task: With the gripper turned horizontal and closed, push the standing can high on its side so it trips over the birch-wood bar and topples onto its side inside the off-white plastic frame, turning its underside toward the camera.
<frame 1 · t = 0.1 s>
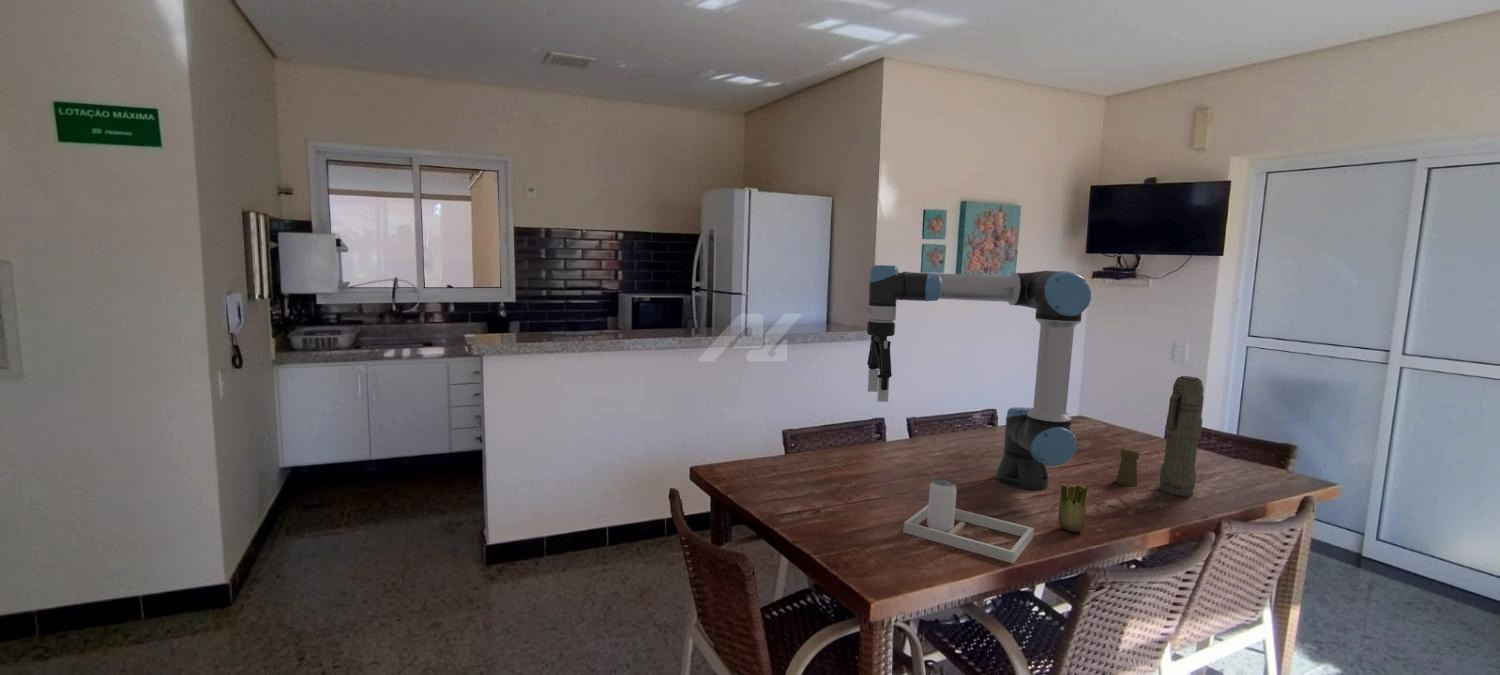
hand: (877, 396, 189), 28 cm above the table, tool pointing down, fingers open, 13 cm apart
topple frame: (968, 535, 165), on the table
thermos: (1175, 492, 203), on the table
olive tapered pillar: (1126, 483, 210), on the table
can: (940, 528, 169), resting in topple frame
fennel bulb: (1070, 531, 170), on the table
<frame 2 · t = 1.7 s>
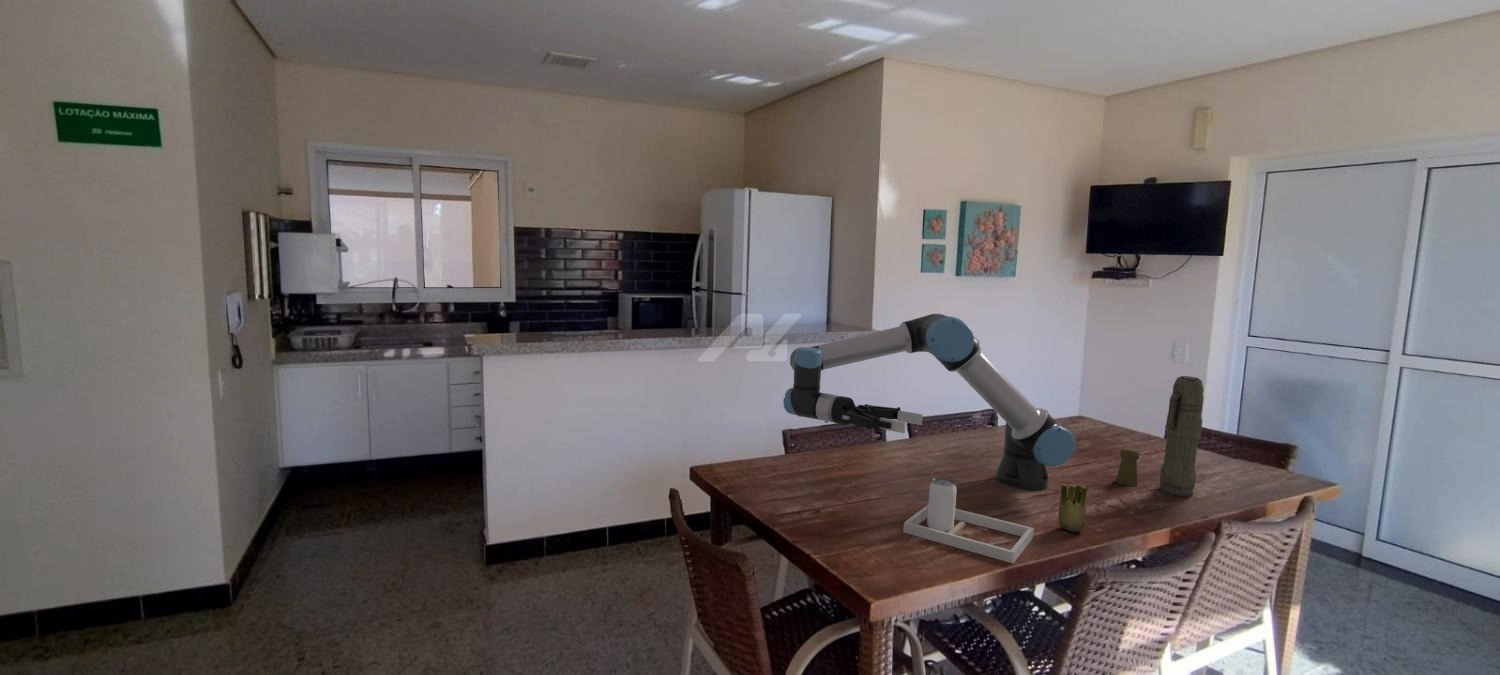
hand: (913, 423, 171), 25 cm above the table, tool horizontal, fingers open, 10 cm apart
nothing on the table moved.
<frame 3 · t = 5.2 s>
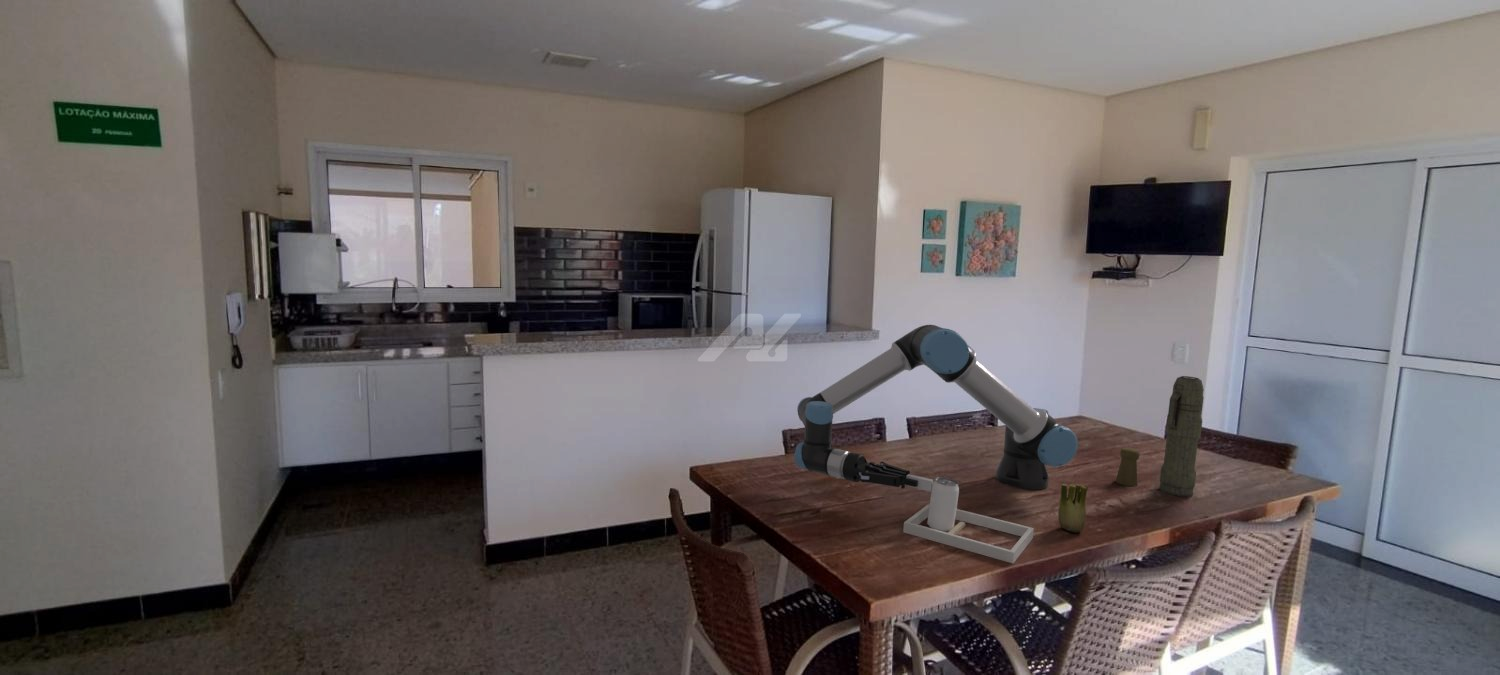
hand: (931, 485, 169), 10 cm above the table, tool horizontal, fingers closed
can: (940, 527, 169), resting in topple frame, touching gripper
everything else where it was.
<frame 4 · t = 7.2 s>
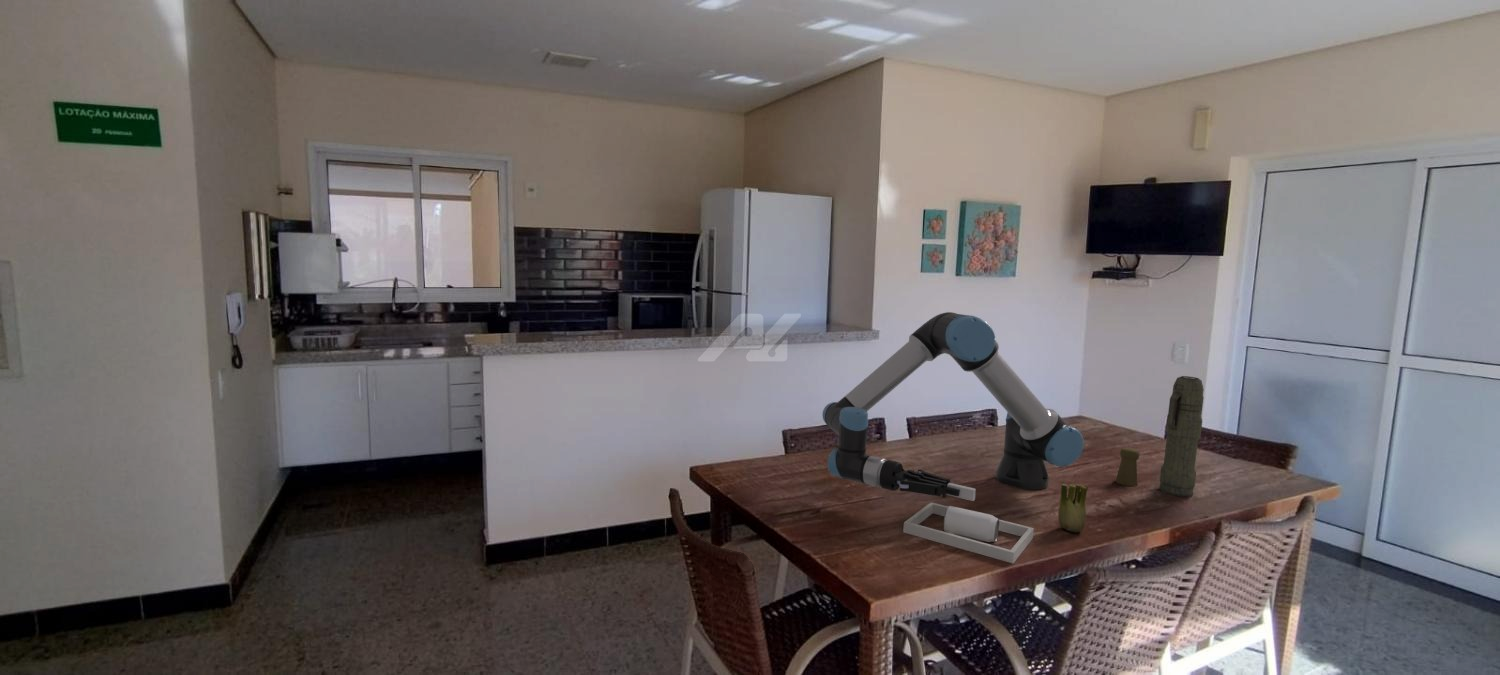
hand: (974, 494, 163), 10 cm above the table, tool horizontal, fingers closed
can: (945, 518, 167), point 3 cm above the table, touching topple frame
everything else where it was.
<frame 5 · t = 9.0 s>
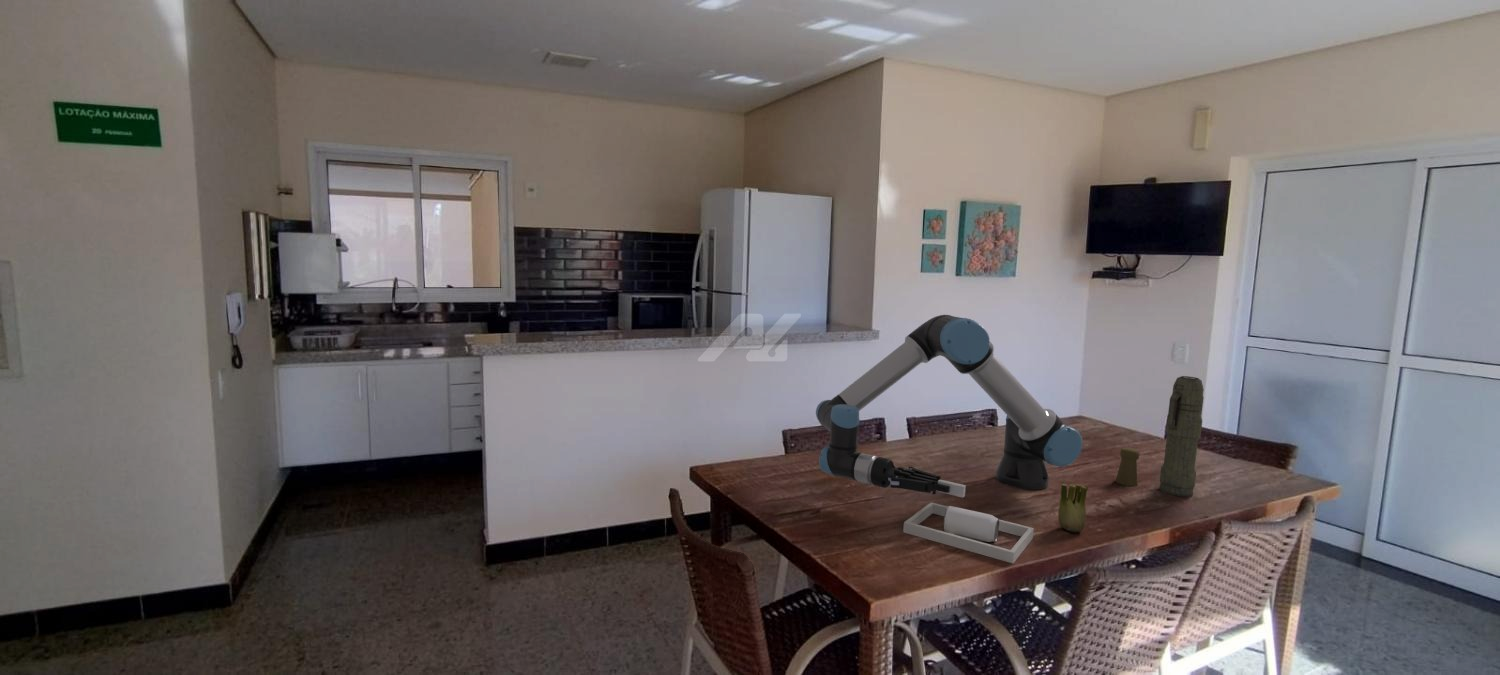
hand: (964, 491, 164), 11 cm above the table, tool horizontal, fingers closed
nothing on the table moved.
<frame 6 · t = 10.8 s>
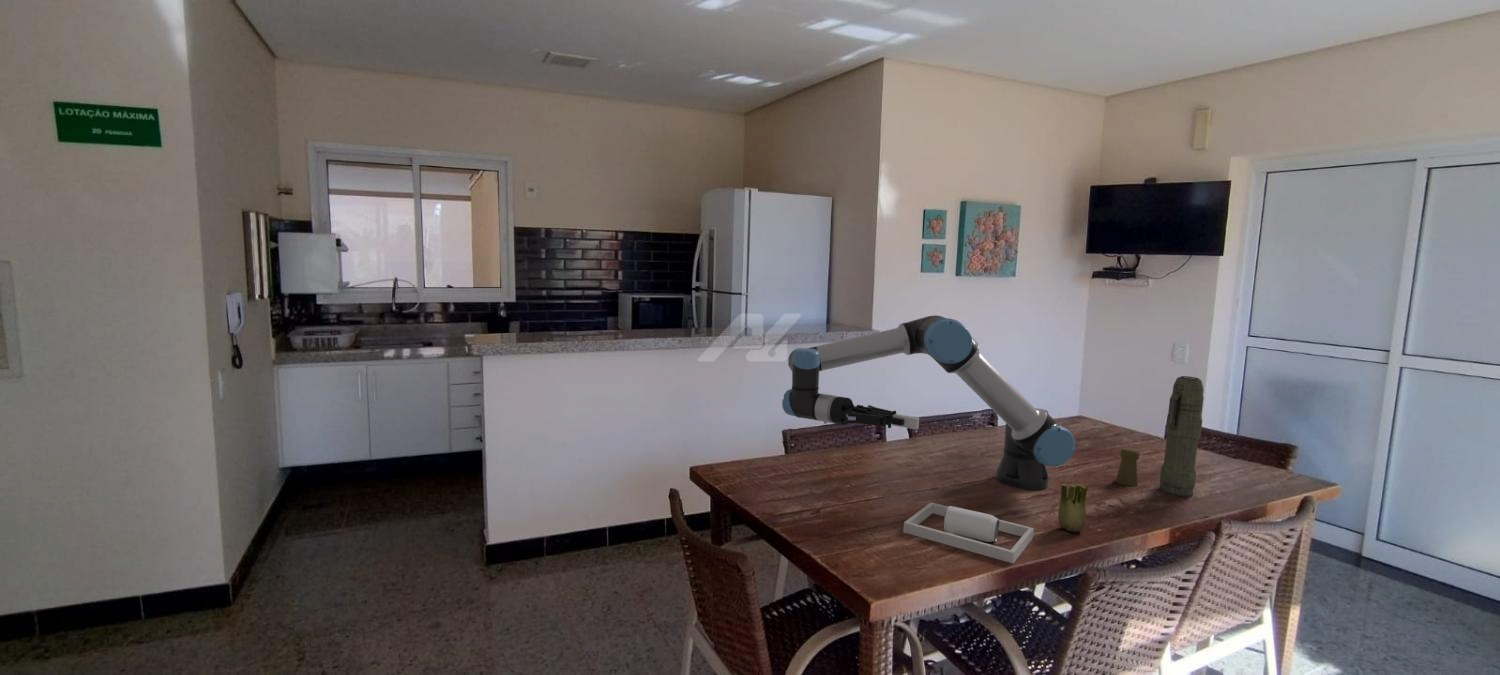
hand: (917, 423, 170), 25 cm above the table, tool horizontal, fingers closed
nothing on the table moved.
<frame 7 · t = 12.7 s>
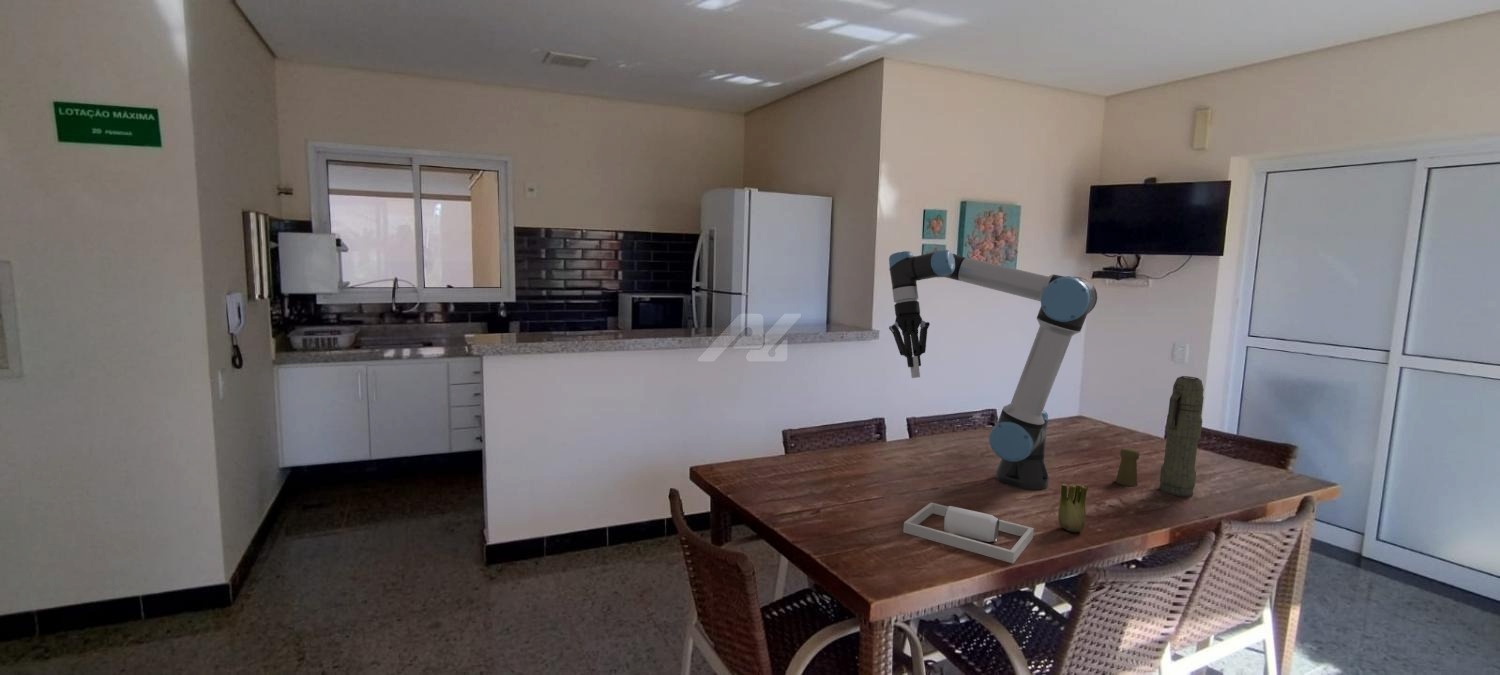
hand: (915, 377, 207), 31 cm above the table, tool pointing down, fingers closed
nothing on the table moved.
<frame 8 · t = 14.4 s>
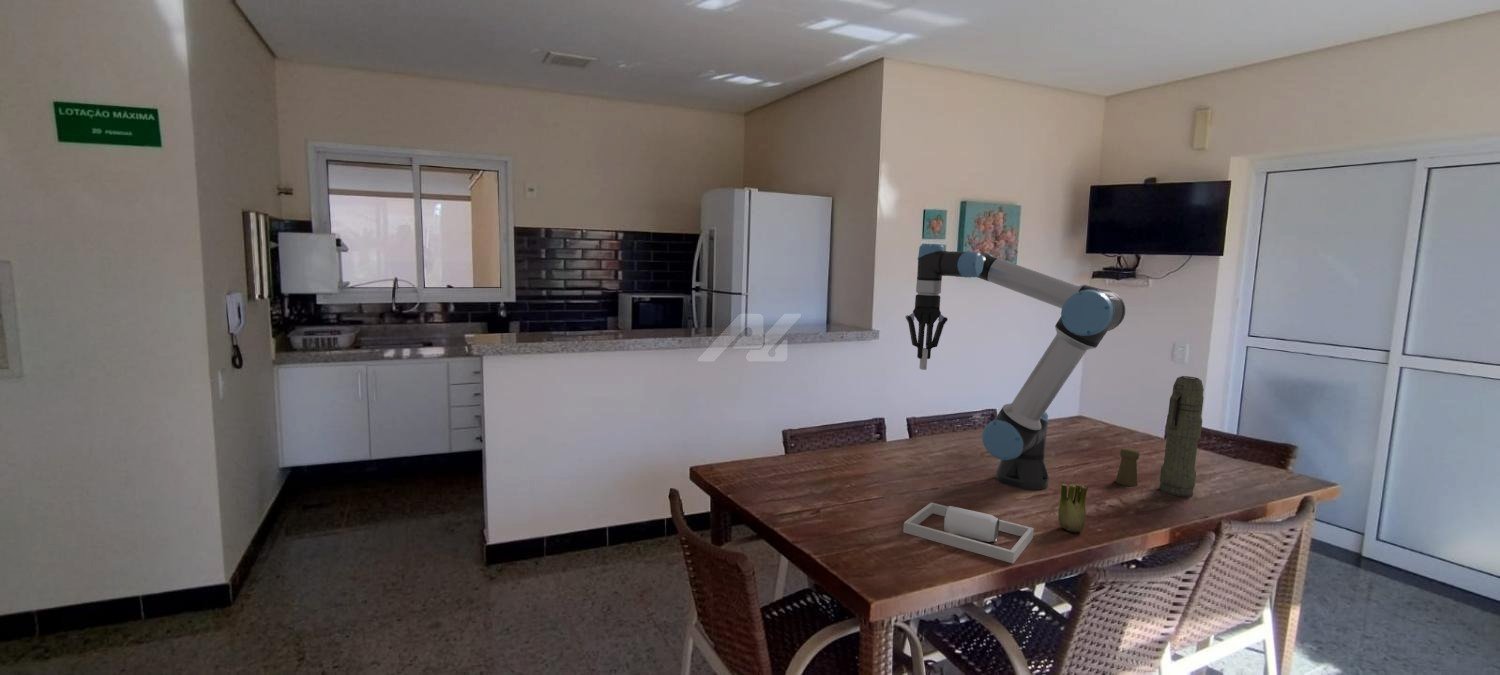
hand: (922, 368, 213), 32 cm above the table, tool pointing down, fingers closed
nothing on the table moved.
at the end: can tilted 91°; can 5.6 cm from the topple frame (horizontally); the gripper is holding nothing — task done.
